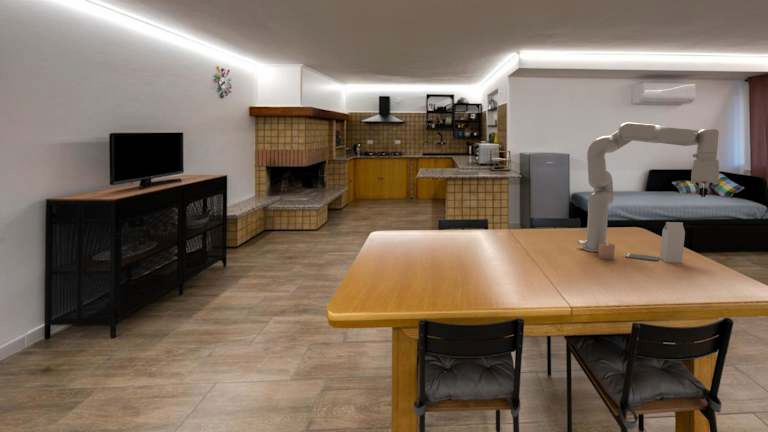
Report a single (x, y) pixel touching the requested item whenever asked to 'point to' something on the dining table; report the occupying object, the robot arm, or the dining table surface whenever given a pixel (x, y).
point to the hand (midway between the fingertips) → (703, 196)
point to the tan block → (606, 251)
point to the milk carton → (672, 242)
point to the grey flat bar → (642, 257)
